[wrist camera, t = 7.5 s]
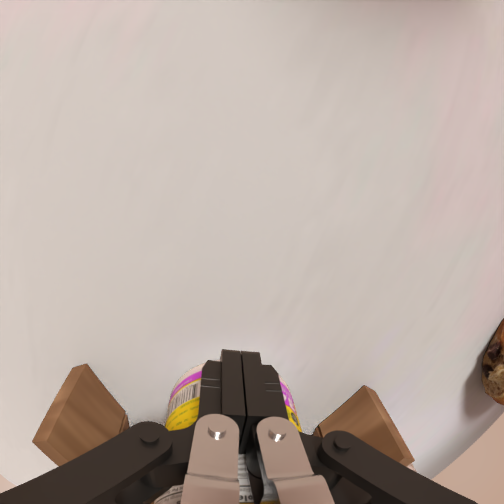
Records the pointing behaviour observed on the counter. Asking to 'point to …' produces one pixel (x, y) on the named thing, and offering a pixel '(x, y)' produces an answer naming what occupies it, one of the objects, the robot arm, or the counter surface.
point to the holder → (115, 422)
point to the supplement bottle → (186, 413)
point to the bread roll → (495, 366)
